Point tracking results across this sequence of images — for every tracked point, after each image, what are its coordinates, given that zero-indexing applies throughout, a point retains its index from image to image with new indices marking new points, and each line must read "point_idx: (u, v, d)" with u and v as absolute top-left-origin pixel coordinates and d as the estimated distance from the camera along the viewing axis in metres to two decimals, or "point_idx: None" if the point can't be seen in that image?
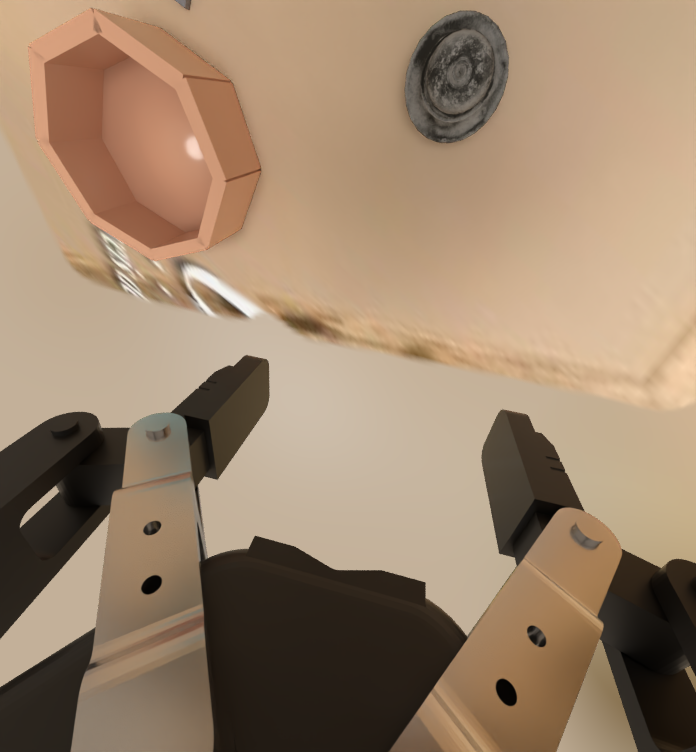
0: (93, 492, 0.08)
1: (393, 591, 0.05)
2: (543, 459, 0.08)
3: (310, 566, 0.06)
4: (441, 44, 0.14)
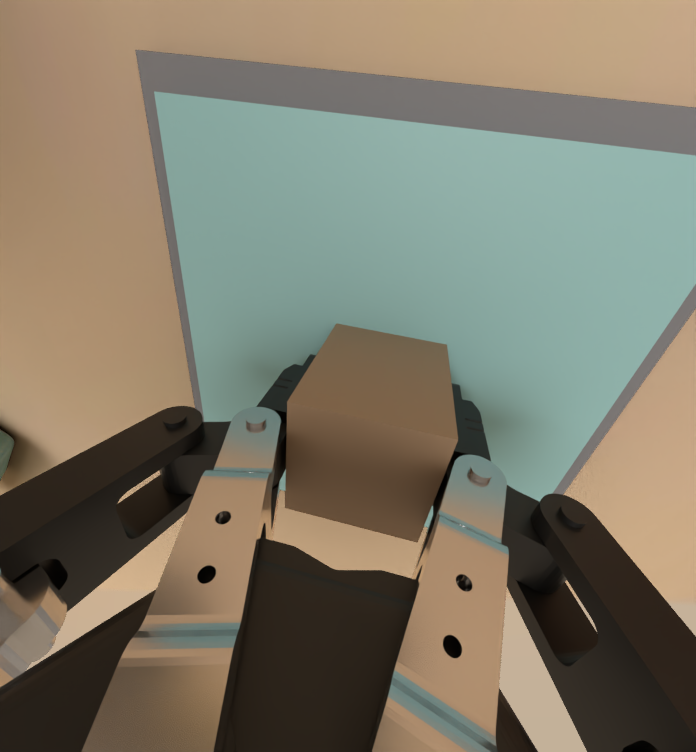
0: (197, 481, 0.08)
1: (393, 591, 0.05)
2: (462, 419, 0.09)
3: (310, 566, 0.06)
4: None
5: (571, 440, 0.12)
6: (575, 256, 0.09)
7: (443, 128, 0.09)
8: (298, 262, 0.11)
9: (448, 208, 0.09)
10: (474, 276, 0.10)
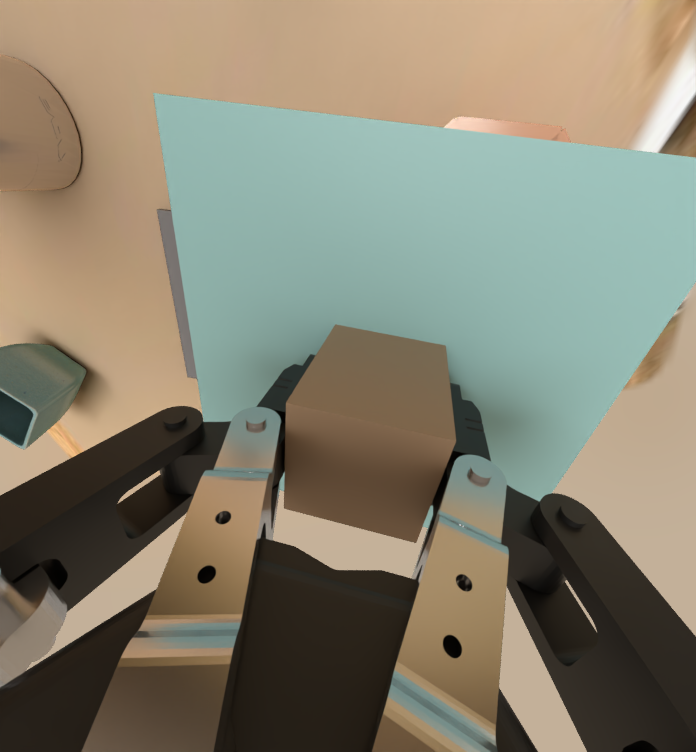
0: (197, 481, 0.08)
1: (393, 591, 0.05)
2: (462, 419, 0.09)
3: (310, 566, 0.06)
4: None
5: (570, 441, 0.12)
6: (573, 257, 0.09)
7: (441, 130, 0.09)
8: (297, 263, 0.11)
9: (446, 210, 0.09)
10: (473, 277, 0.10)
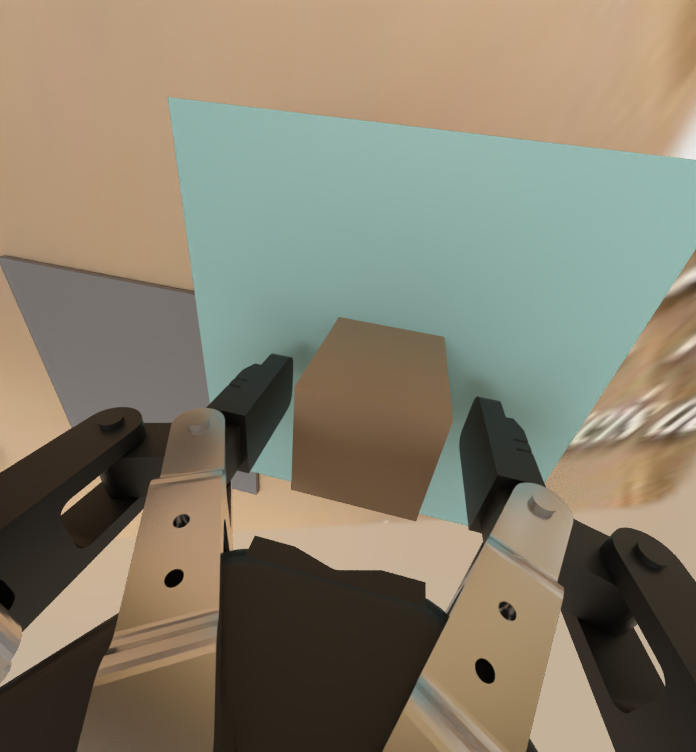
0: (137, 484, 0.08)
1: (393, 591, 0.05)
2: (510, 440, 0.09)
3: (310, 566, 0.06)
4: None
5: (563, 428, 0.13)
6: (563, 251, 0.10)
7: (439, 132, 0.09)
8: (303, 258, 0.12)
9: (444, 206, 0.10)
10: (469, 271, 0.11)
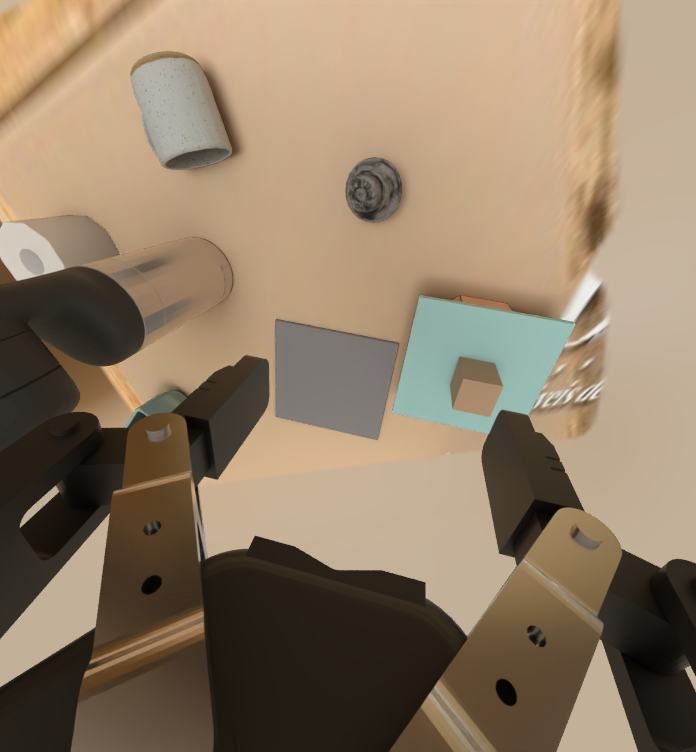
0: (94, 492, 0.08)
1: (393, 591, 0.05)
2: (543, 459, 0.08)
3: (310, 566, 0.06)
4: (356, 209, 0.29)
5: (534, 393, 0.38)
6: (531, 340, 0.35)
7: (498, 311, 0.35)
8: (450, 338, 0.37)
9: (498, 328, 0.35)
10: (504, 344, 0.36)
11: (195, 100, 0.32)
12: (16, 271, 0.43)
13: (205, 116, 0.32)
